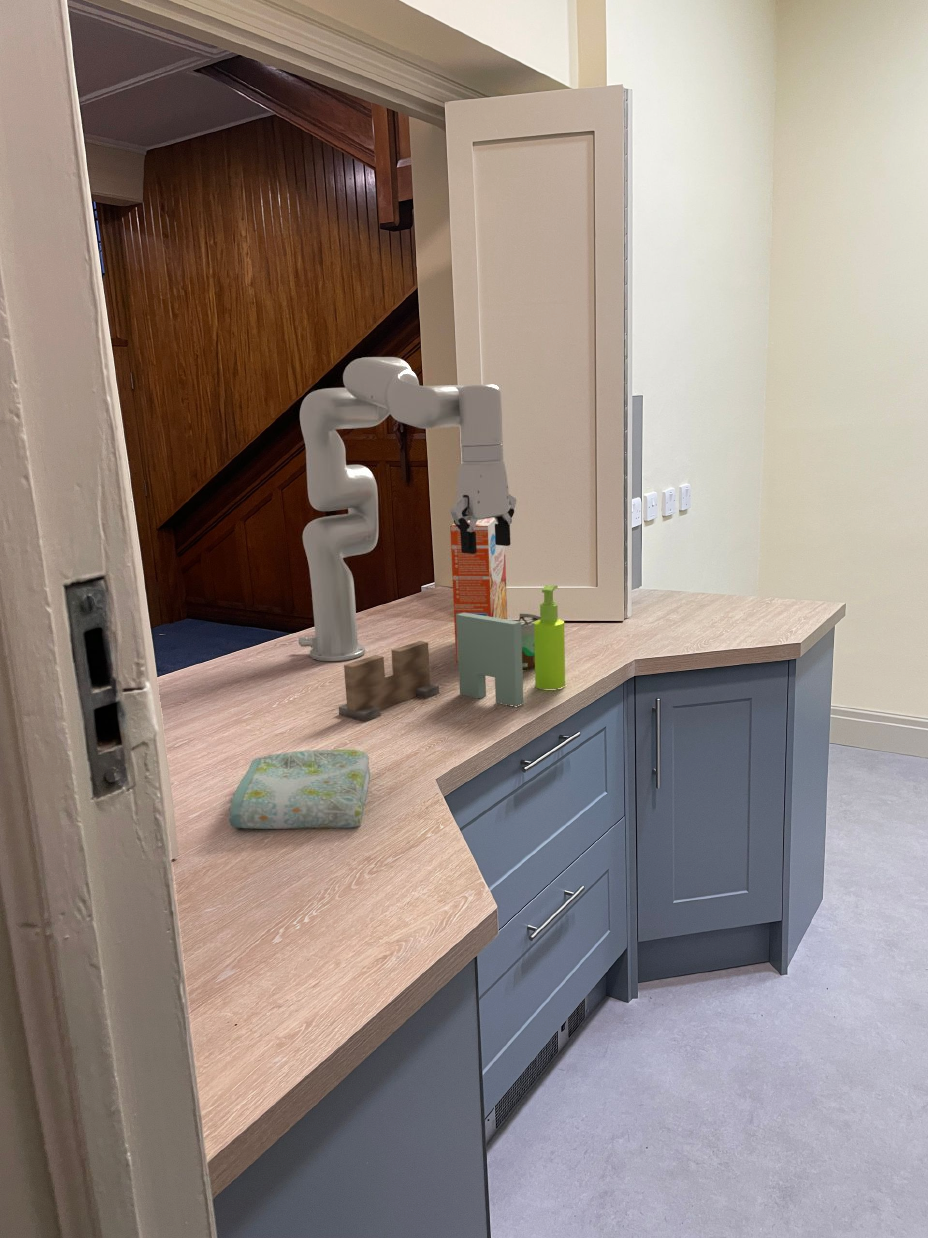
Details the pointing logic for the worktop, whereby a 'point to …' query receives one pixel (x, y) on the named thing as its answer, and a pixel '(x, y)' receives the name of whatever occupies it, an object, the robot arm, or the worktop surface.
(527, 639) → the food container
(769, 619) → the worktop surface
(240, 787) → the towel
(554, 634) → the soap dispenser
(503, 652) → the sage slotted plate
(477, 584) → the cereal box
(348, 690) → the walnut slotted board
